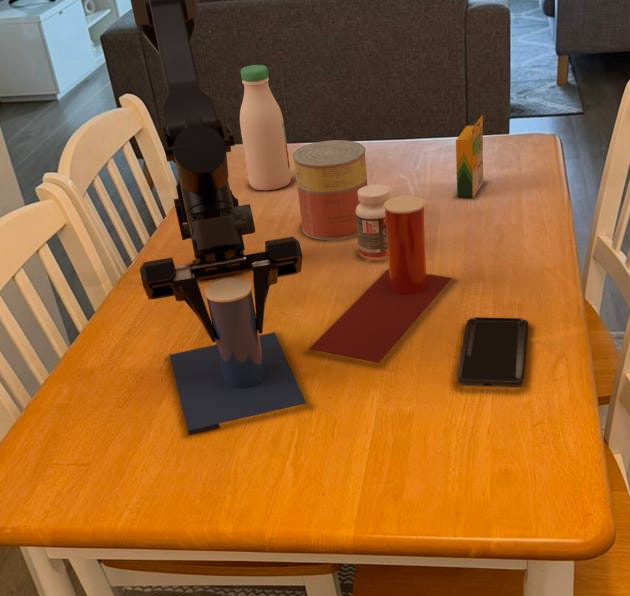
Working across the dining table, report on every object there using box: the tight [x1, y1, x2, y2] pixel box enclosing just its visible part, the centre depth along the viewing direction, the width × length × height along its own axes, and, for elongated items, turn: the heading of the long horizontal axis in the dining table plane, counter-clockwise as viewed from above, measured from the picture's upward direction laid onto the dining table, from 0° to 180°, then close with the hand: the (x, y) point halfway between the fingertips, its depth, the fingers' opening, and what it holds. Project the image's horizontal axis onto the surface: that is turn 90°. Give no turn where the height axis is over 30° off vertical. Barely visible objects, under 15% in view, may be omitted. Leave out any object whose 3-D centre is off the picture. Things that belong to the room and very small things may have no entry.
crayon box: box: [455, 114, 484, 199], centre depth 148 cm, size 7×3×12 cm, turn 160°
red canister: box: [384, 195, 427, 294], centre depth 121 cm, size 5×5×12 cm
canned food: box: [292, 139, 368, 241], centre depth 141 cm, size 11×11×12 cm
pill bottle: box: [356, 184, 391, 260], centre depth 132 cm, size 6×6×10 cm
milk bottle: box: [239, 64, 292, 191], centre depth 155 cm, size 8×8×20 cm
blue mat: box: [168, 332, 307, 435], centre depth 109 cm, size 18×14×1 cm
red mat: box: [308, 268, 452, 364], centre depth 119 cm, size 24×10×1 cm, turn 154°
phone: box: [456, 316, 529, 388], centre depth 109 cm, size 8×1×15 cm
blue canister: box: [204, 277, 266, 388], centre depth 105 cm, size 5×5×12 cm
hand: (237, 336), depth 104 cm, fingers closed on blue canister, 5 cm apart
